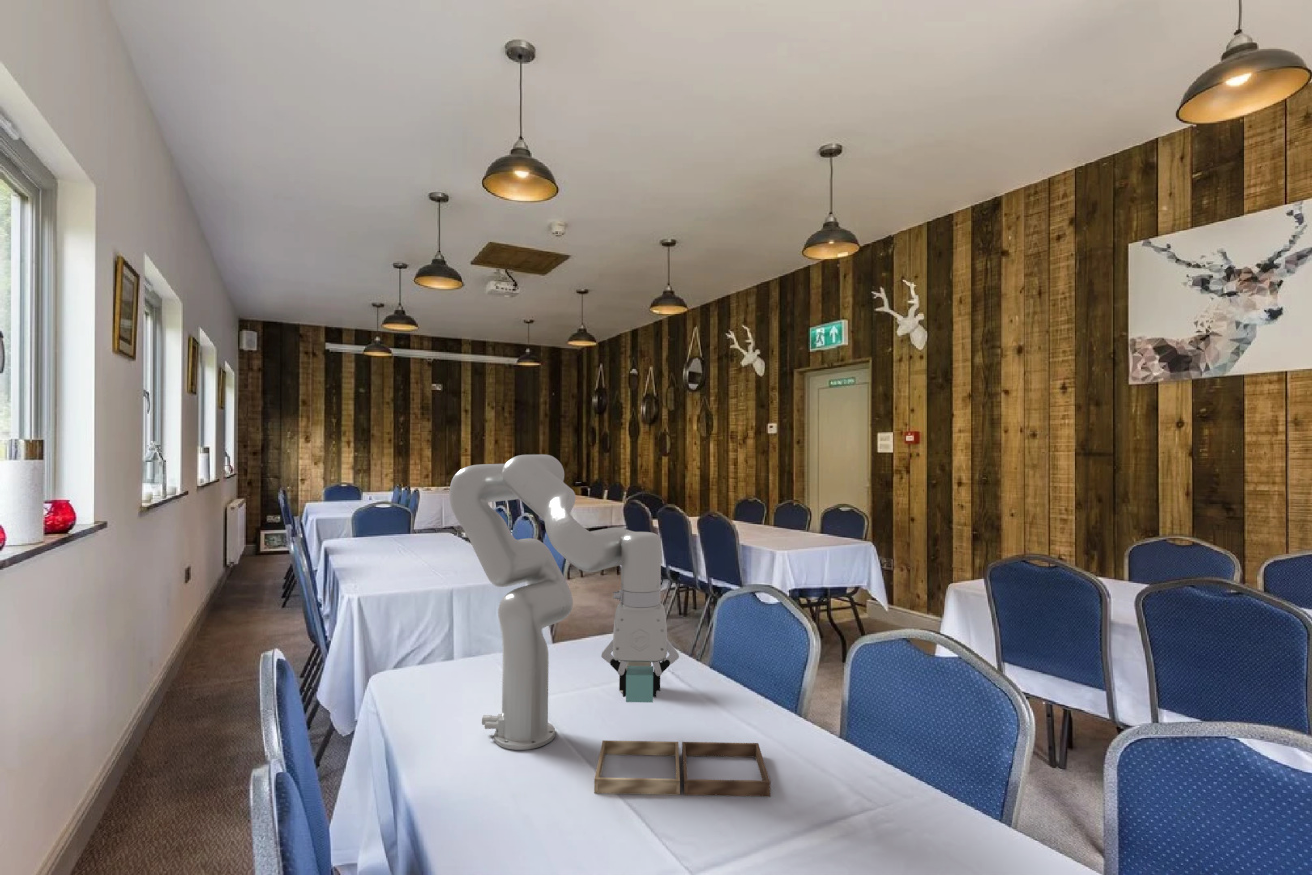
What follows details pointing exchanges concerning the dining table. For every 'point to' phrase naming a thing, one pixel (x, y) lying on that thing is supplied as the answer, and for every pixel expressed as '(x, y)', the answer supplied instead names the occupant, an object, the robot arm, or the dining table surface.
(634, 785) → the oak tray
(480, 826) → the dining table surface
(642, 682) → the teal cube
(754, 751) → the walnut tray
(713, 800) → the dining table surface
